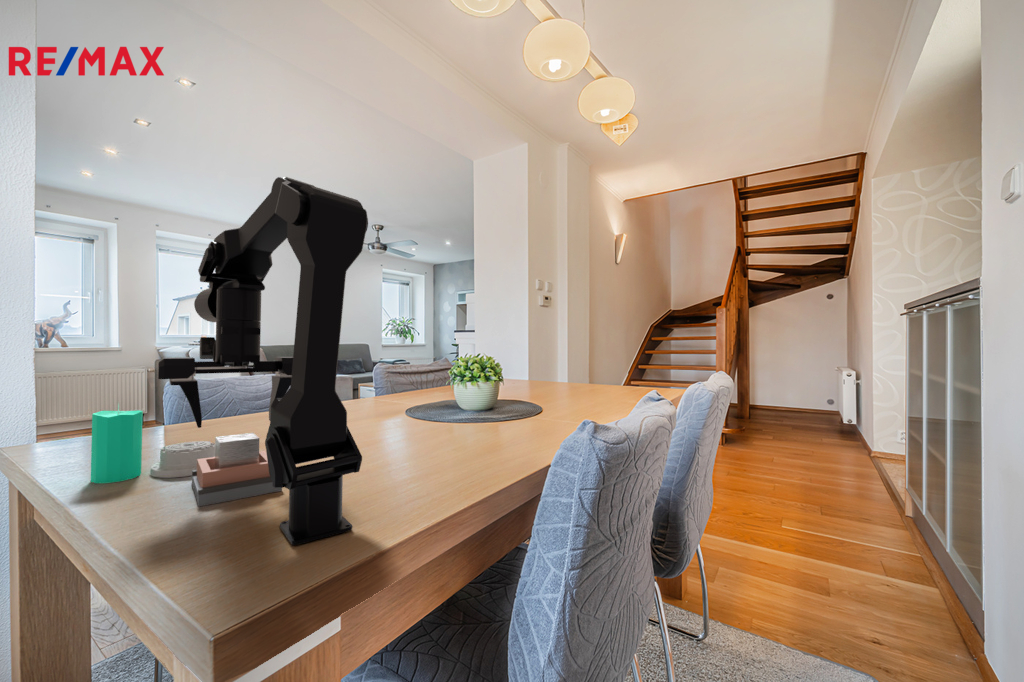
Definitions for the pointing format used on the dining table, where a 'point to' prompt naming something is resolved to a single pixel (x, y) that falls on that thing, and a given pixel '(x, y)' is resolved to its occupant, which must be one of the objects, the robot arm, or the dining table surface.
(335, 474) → the robot arm
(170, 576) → the dining table surface
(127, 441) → the candle
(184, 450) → the mechanical component
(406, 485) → the dining table surface
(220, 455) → the block
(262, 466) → the frame
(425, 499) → the dining table surface
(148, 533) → the dining table surface
